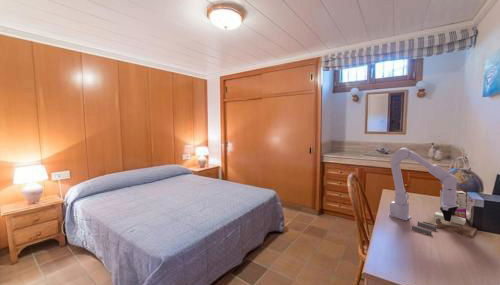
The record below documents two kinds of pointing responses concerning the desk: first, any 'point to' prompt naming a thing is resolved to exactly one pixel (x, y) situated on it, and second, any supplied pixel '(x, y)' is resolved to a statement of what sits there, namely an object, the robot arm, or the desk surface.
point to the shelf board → (453, 218)
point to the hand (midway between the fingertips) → (448, 219)
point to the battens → (423, 228)
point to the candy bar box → (460, 201)
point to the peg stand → (451, 226)
